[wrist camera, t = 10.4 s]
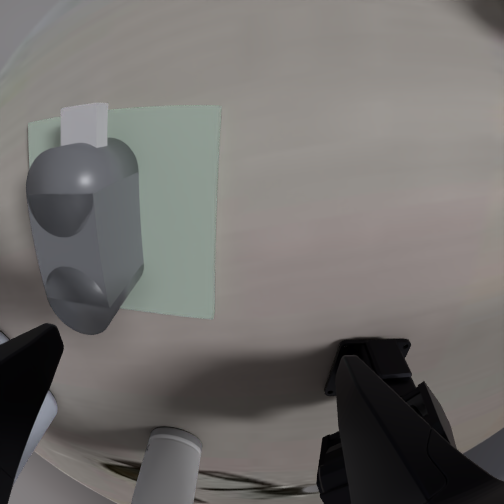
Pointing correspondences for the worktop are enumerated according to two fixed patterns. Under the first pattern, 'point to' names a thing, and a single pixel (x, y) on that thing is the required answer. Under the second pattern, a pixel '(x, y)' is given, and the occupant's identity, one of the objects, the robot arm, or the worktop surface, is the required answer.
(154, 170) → the sage board
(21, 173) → the worktop surface
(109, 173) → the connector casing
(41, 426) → the plastic bottle
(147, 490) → the travel mug
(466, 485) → the robot arm
